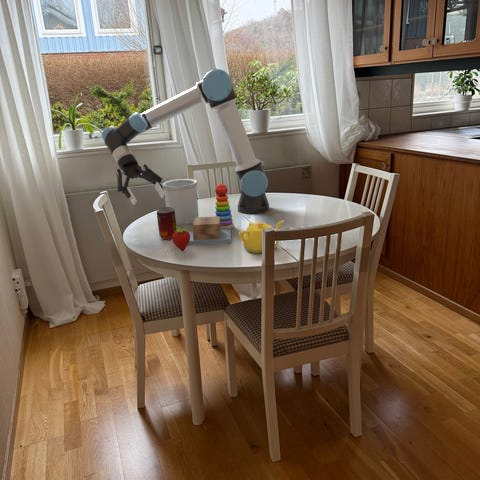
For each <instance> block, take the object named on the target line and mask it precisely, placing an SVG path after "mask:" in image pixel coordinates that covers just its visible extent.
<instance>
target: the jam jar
mask: <svg viewBox="0 0 480 480" xmlns="http://www.w3.org/2000/svg"><path fill="white" fill-rule="evenodd" d="M156 218H157V226H158V227H157V228H158V235H159V237H160V239H161V240H162V241H172V235H173V234H174V233H175V231H178V230H176V229H178V228H177V225H176V218H175V210H174V209H173V208H171V207H166V206H163V207H160V208H158V209H157V210H156Z"/></svg>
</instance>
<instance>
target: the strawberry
mask: <svg viewBox="0 0 480 480" xmlns="http://www.w3.org/2000/svg"><path fill="white" fill-rule="evenodd" d="M179 226H180V228H177V229H176V230H177V231H175V233H174V234H173V235H172V240H171V241H172V243H173V245H174V246H175V248H177V249H179V250H180V252H185V250H186V249H187V247H188V246H189V245H188V243H189V241H190V233H189V232H188V230H187V228H183V227H181V226H182V225H178V227H179Z"/></svg>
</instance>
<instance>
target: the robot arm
mask: <svg viewBox="0 0 480 480" xmlns="http://www.w3.org/2000/svg"><path fill="white" fill-rule="evenodd" d="M195 83H196V84H195V86H193V87H191V88H189V89H187V90H185V91H183V92H180V93H179V94H177V95H175V96H173V97H171V98H169V99H166V100H165V101H163V102H160V103H159V104H157V105H155V106H153V107H151V108H149V109H147V110H146V111H145V110H144V112H141V113H139V112H134V113H132V114H131V115H129V117H128V118H127V119H125V120H124V121H123V122H122V123H121V124H119V126H117V127H116V126H114V125H113V126H111V125H110V126H109V127H106V128H105V129H103V131H102V132H101V138H102V140H103V142H104V144H105V146H106V148H107V149H108V151H109V152H110V154H111V156H112V157H113V159H114V161H115V162H116V163H117V165H118V167H119V168H117V170H116V172H115V175H116V179H117V184H116V185H117V187H116V188H117V192H118V193H120V192H121V194H124V195H125V197H126V198H127V199H129V201H130V203H131V204H132V205H133V206H136V204H137V201H138V200H137V199H136V197H135V195H134V194H133V192H132V191H131V189H130V188H129V187H128V186H129V183H130V179H131V180H133V179H143V180H145V181H147V182H149V183H151V184H153V186H154V188H155V190H156V192H157V193H158V194H159V197H160V198H161V199H165V193H164V188H163V184H162V183H161V182H162V180H163V178H162V177H161V176H160V175H158V173H156V172H155V171H153V170H152V169H150V168H149V167H148V166H147V164H145V163H144V164H143V165H142V166H140V165H139V163H138V160H137V159H136V157H135V155H134V154H133V152H132V150H131V148H130V147H129V145H128V144H129V143H130V142H131V141H132V140H134V139H135V138H136V137H137V136H139V135H141V134H144V133H145V132H147V131H149V130H150V129H151V130H152V128H155V127H157V126H159V125H161V124H163V123H165V122H167V121H169V120H171V119H173V118H176V117H177V116H178V115H181V114H183V113H185V112H187V111H189V110H191V109H193V108H195V107H197V106H199V105H201V104H208V105H209V107H210V109H211V110H213V111H214V112H216V114H217V117H218V120H219V123H220V126H221V127H222V131H223V133H224V136H225V139H226V141H227V143H228V146H229V148H230V150H231V153H232V157H233V159H234V161H235V164H236V166H235V169H234V171H235V174H236V177H237V179H238V181H239V185H240V186H239V187H240V195H239V199H238V203H237V211H238V212H239V213H241V214H242V213H243V214H261V213H265V212H268V211H269V210H270V202H269V200H268V197H267V195H266V190H267V189H268V184H269V178H268V177H267V175H266V172H265V168H266V166H265V162H264V161H263V160H261V159H258V158H256V156H255V153H254V150H253V148H252V145H251V142H250V139H249V137H248V134H247V132H246V129H245V127H244V123H243V121H242V118H241V115H240V113H239V110H238V106H237V104H236V102H237V100H238V97H237V93H236V91H235V88H234V86H233V81H232V77H230V75H229V74H228V72H226V71H225V70H223V69H219V68H214V69H211V70H209V71H207V72H206V73H205V74H204V76H203V77H202V79H201V80H199V81H197V82H195ZM123 175H124V176H126V177H125V181H124V184H123Z"/></svg>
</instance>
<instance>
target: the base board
mask: <svg viewBox="0 0 480 480" xmlns="http://www.w3.org/2000/svg"><path fill="white" fill-rule="evenodd" d="M187 231H188V230H187ZM188 232H189V233H190V241H189V243H188V245H187V246H193V245H197V246H198V245H215V244H216V245H217V244H231V242H232V229H229V230H221V234H220V239H206V240H194V238H193V230H190V231H188Z"/></svg>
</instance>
